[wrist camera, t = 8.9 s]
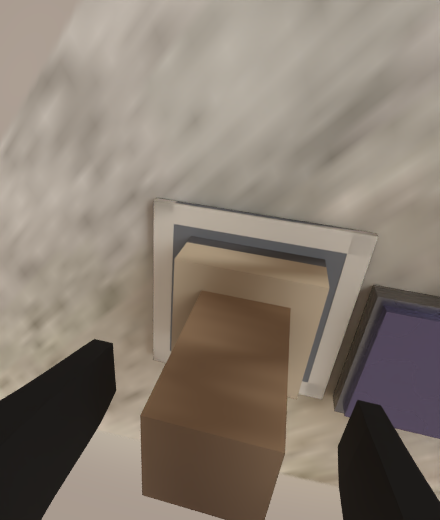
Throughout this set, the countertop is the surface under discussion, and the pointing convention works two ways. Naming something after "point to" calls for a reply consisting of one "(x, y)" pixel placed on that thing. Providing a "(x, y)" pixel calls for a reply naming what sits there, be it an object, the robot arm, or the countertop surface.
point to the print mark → (272, 238)
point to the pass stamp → (230, 376)
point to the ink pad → (396, 361)
